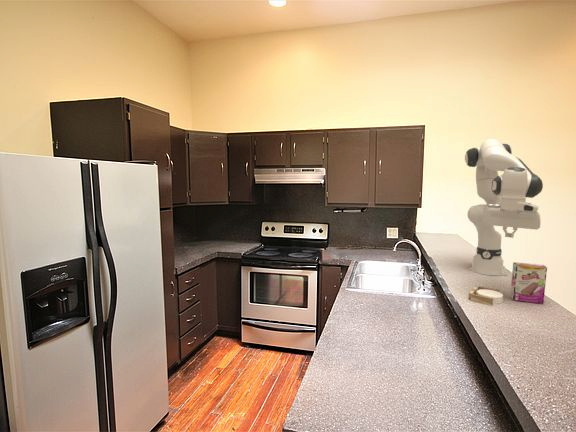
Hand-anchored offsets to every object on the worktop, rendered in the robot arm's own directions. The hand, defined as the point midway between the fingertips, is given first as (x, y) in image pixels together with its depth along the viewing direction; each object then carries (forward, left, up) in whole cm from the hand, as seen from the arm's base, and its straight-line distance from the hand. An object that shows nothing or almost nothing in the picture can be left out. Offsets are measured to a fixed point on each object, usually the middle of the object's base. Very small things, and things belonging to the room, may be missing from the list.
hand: (509, 237), depth 138 cm
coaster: (+5, -5, -28) cm, 29 cm away
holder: (+5, -11, -28) cm, 30 cm away
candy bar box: (-4, +7, -28) cm, 29 cm away
